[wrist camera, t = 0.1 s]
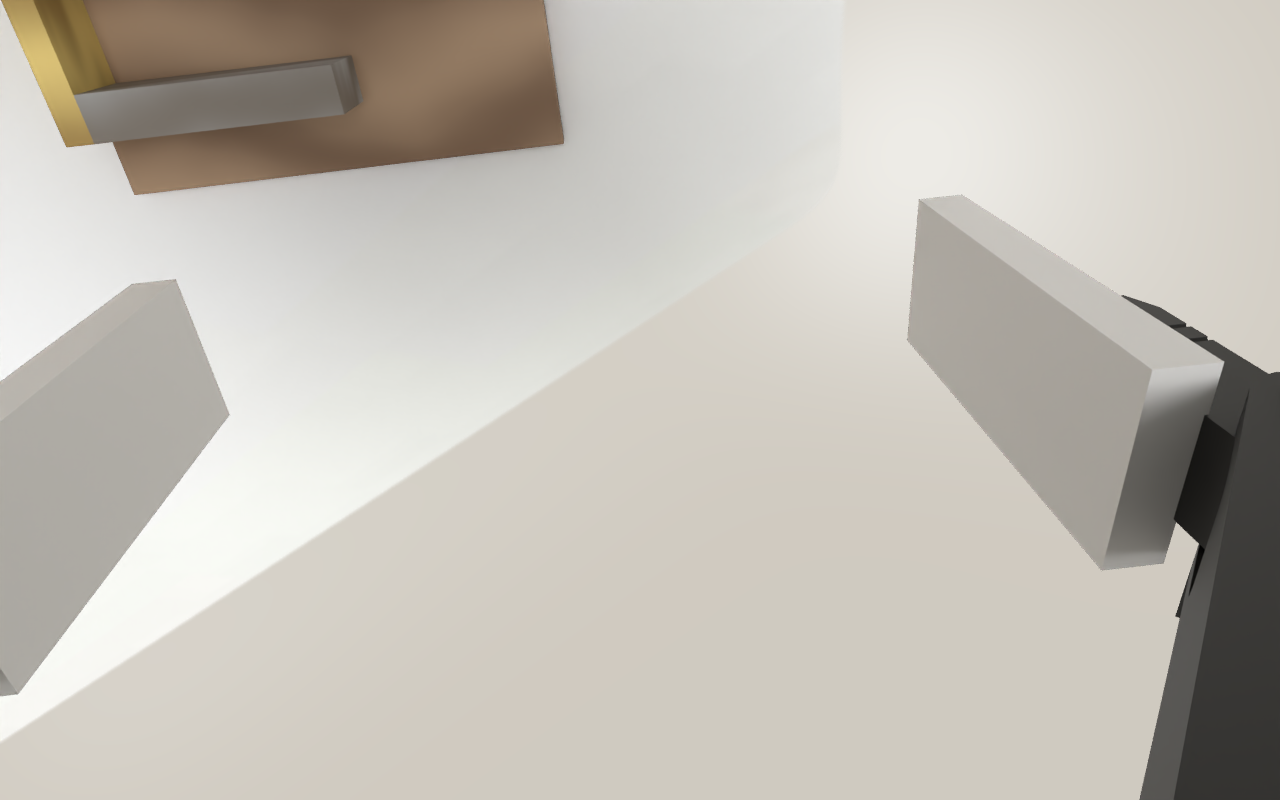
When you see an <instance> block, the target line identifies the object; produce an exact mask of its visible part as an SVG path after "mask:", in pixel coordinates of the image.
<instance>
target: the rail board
mask: <svg viewBox="0 0 1280 800" xmlns="http://www.w3.org/2000/svg"><path fill="white" fill-rule="evenodd" d="M1 1H2V3H3V6H4V8H5V10H6V12H7V15H8V17H9V19H10V21H11V24H12V26H13V28H14V30H15V33H16V35H17V37H18V39H19V42H20V44H21V46H22V48H23V51H24V53H25V55H26V57H27V60H28V62H29V64H30V66H31V69H32V71H33V73H34V75H35V78H36V80H37V82H38V84H39V87H40V89H41V91H42V93H43V96H44V98H45V100H46V102H47V105H48V107H49V109H50V111H51V114H52V116H53V118H54V120H55V123H56V125H57V127H58V129H59V132H60V134H61V136H62V138H63V141H64V143H65V145H66V147H74V146H83V145H91V144H100V143H108V142H113V144H114V147H115V149H116V151H117V154H118V156H119V159H120V161H121V163H122V166H123V168H124V171H125V173H126V175H127V178H128V180H129V183H130V185H131V187H132V190H133V192H134V195H139V194H148V193H156V192H164V191H173V190H181V189H190V188H198V187H206V186H215V185H223V184H231V183H240V182H248V181H256V180H265V179H273V178H282V177H290V176H298V175H307V174H315V173H323V172H332V171H340V170H348V169H357V168H365V167H374V166H382V165H390V164H399V163H407V162H415V161H424V160H432V159H440V158H449V157H457V156H466V155H474V154H482V153H491V152H499V151H507V150H516V149H524V148H532V147H541V146H549V145H558V144H564V137H563V130H562V123H561V116H560V109H559V102H558V95H557V88H556V82H555V75H554V68H553V61H552V54H551V47H550V40H549V33H548V26H547V19H546V13H545V6H544V0H1Z"/></svg>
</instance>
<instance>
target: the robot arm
mask: <svg viewBox="0 0 1280 800" xmlns="http://www.w3.org/2000/svg"><path fill="white" fill-rule="evenodd" d="M907 340H908V342H909V343H910V344H911V345H912V346H913V347H914V349H915V350H916V351H917V352H918V353H919V355H920V356H921V357H922V358H923V359H924V360H925V362H926V363H927V364H928V365H929V366H930V368H931V369H932V370H933V371H934V372H935V374H936V375H937V376H938V377H939V378H940V380H941V381H942V382H943V383H944V384H945V385H946V386H947V388H948V389H949V390H950V391H951V393H952V394H953V395H954V396H955V397H956V398H957V400H958V401H959V402H960V403H961V404H962V406H963V407H964V408H965V409H966V410H967V412H968V413H969V414H970V415H971V416H972V417H973V419H974V420H975V421H976V422H977V423H978V425H979V426H980V427H981V428H982V429H983V431H984V432H985V433H986V434H987V435H988V436H989V438H990V439H991V440H992V441H993V442H994V443H995V445H996V446H997V447H998V448H999V449H1000V451H1001V452H1002V453H1003V454H1004V455H1005V457H1006V458H1007V459H1008V460H1009V461H1010V463H1011V464H1012V465H1013V466H1014V467H1015V468H1016V470H1017V471H1018V472H1019V473H1020V474H1021V476H1022V477H1023V478H1024V479H1025V480H1026V481H1027V483H1028V484H1029V485H1030V486H1031V487H1032V489H1033V490H1034V491H1035V492H1036V493H1037V495H1038V496H1039V497H1040V498H1041V499H1042V500H1043V502H1044V503H1045V504H1046V505H1047V506H1048V508H1049V509H1050V510H1051V511H1052V512H1053V514H1054V515H1055V516H1056V517H1057V518H1058V519H1059V521H1060V522H1061V523H1062V524H1063V525H1064V527H1065V528H1066V529H1067V530H1068V531H1069V532H1070V534H1071V535H1072V536H1073V537H1074V538H1075V540H1076V541H1077V542H1078V543H1079V544H1080V546H1081V547H1082V548H1083V549H1084V550H1085V551H1086V553H1087V554H1088V555H1089V556H1090V557H1091V559H1092V560H1093V561H1094V562H1095V563H1096V564H1097V566H1098V567H1099V568H1100V569H1101V570H1110V569H1119V568H1127V567H1136V566H1145V565H1154V564H1162V563H1164V560H1165V557H1166V553H1167V550H1168V547H1169V544H1170V540H1171V537H1172V534H1173V530H1174V527H1175V524H1176V522H1177V523H1178V524H1179V525H1180V526H1181V527H1182V528H1183V529H1184V530H1185V531H1186V532H1187V533H1188V534H1189V535H1190V536H1192V537H1193V538H1194V539H1195V540H1196V541H1197V542H1198V543H1199V545H1198V548H1197V552H1196V555H1195V558H1194V561H1193V564H1192V567H1191V570H1190V573H1189V576H1188V579H1187V582H1186V585H1185V588H1184V592H1183V594H1182V597H1181V601H1180V604H1179V607H1178V610H1177V613H1176V617H1179V618H1180V621H1179V625H1178V629H1177V633H1176V638H1175V643H1174V647H1173V651H1172V656H1171V660H1170V665H1169V669H1168V674H1167V679H1166V683H1165V687H1164V692H1163V697H1162V701H1161V706H1160V710H1159V715H1158V719H1157V723H1156V728H1155V732H1154V737H1153V742H1152V746H1151V751H1150V755H1149V759H1148V764H1147V769H1146V773H1145V777H1144V782H1143V786H1142V791H1141V795H1140V800H1280V372H1274V373H1271V374H1268V373H1266V372H1264V371H1263V370H1261V369H1260V368H1258V367H1256V366H1255V365H1253V364H1251V363H1250V362H1248V361H1247V360H1245V359H1243V358H1242V357H1240V356H1238V355H1237V354H1235V353H1233V352H1232V351H1230V350H1228V349H1227V348H1225V347H1223V346H1222V345H1220V344H1219V343H1217V342H1215V341H1214V340H1208V339H1207V336H1206V335H1204V334H1203V333H1201V332H1199V331H1198V330H1196V329H1194V328H1193V327H1186V323H1185V322H1183V321H1181V320H1180V319H1178V318H1176V317H1175V316H1173V315H1171V314H1170V313H1168V312H1167V311H1165V310H1163V309H1162V308H1160V307H1157V306H1154V305H1151V304H1148V303H1145V302H1142V301H1139V300H1136V299H1133V298H1130V297H1127V296H1124V295H1122V296H1120V295H1118V294H1117V293H1115V292H1114V291H1112V290H1111V289H1109V288H1107V287H1106V286H1104V285H1103V284H1101V283H1100V282H1098V281H1096V280H1095V279H1093V278H1092V277H1090V276H1089V275H1087V274H1085V273H1084V272H1082V271H1080V270H1079V269H1078V268H1076V267H1074V266H1073V265H1071V264H1070V263H1068V262H1067V261H1065V260H1063V259H1062V258H1060V257H1059V256H1057V255H1056V254H1054V253H1052V252H1051V251H1049V250H1048V249H1046V248H1045V247H1043V246H1041V245H1040V244H1038V243H1037V242H1035V241H1034V240H1032V239H1030V238H1029V237H1027V236H1026V235H1024V234H1023V233H1021V232H1019V231H1018V230H1016V229H1015V228H1013V227H1012V226H1010V225H1008V224H1007V223H1005V222H1004V221H1002V220H1000V219H999V218H997V217H996V216H994V215H993V214H991V213H990V212H988V211H986V210H985V209H983V208H981V207H980V206H978V205H977V204H975V203H974V202H972V201H971V200H969V199H968V198H966V197H964V196H963V195H955V196H946V197H937V198H927V199H919V206H918V217H917V229H916V242H915V254H914V265H913V278H912V290H911V302H910V314H909V327H908V338H907ZM228 416H229V412H228V410H227V407H226V405H225V402H224V400H223V397H222V394H221V392H220V389H219V387H218V384H217V382H216V379H215V377H214V374H213V372H212V369H211V367H210V364H209V362H208V359H207V357H206V354H205V352H204V349H203V347H202V344H201V342H200V339H199V337H198V334H197V332H196V329H195V327H194V324H193V322H192V319H191V316H190V314H189V311H188V309H187V306H186V304H185V301H184V299H183V296H182V294H181V291H180V289H179V286H178V284H177V281H176V279H175V280H166V281H156V282H147V283H138V284H131V285H130V286H129V287H127V288H126V289H125V290H123V291H122V292H121V293H119V294H118V295H117V296H115V297H114V298H112V299H111V300H110V301H108V302H107V303H106V304H104V305H103V306H102V307H100V308H99V309H98V310H96V311H95V312H94V313H92V314H91V315H90V316H88V317H87V318H86V319H84V320H83V321H81V322H80V323H79V324H77V325H76V326H75V327H73V328H72V329H71V330H69V331H68V332H67V333H65V334H64V335H63V336H61V337H60V338H59V339H57V340H56V341H55V342H53V343H52V344H50V345H49V346H48V347H46V348H45V349H44V350H42V351H41V352H40V353H38V354H37V355H36V356H34V357H33V358H32V359H30V360H29V361H28V362H26V363H25V364H24V365H22V366H21V367H19V368H18V369H17V370H15V371H14V372H13V373H11V374H10V375H9V376H7V377H6V378H5V379H3V380H2V381H1V382H0V696H7V695H15V694H19V692H20V691H21V690H22V688H23V687H24V686H25V684H26V683H27V682H28V680H29V679H30V678H31V676H32V675H33V674H34V672H35V671H36V670H37V669H38V667H39V666H40V665H41V663H42V662H43V661H44V659H45V658H46V657H47V655H48V654H49V653H50V651H51V650H52V649H53V647H54V646H55V645H56V643H57V642H58V641H59V639H60V638H61V637H62V635H63V634H64V633H65V632H66V630H67V629H68V628H69V626H70V625H71V624H72V622H73V621H74V620H75V618H76V617H77V616H78V614H79V613H80V612H81V610H82V609H83V608H84V606H85V605H86V604H87V602H88V601H89V600H90V598H91V597H92V596H93V595H94V593H95V592H96V591H97V589H98V588H99V587H100V585H101V584H102V583H103V581H104V580H105V579H106V577H107V576H108V575H109V573H110V572H111V571H112V569H113V568H114V567H115V565H116V564H117V563H118V561H119V560H120V559H121V558H122V556H123V555H124V554H125V552H126V551H127V550H128V548H129V547H130V546H131V544H132V543H133V542H134V540H135V539H136V538H137V536H138V535H139V534H140V532H141V531H142V530H143V528H144V527H145V526H146V524H147V523H148V522H149V521H150V519H151V518H152V517H153V515H154V514H155V513H156V511H157V510H158V509H159V507H160V506H161V505H162V503H163V502H164V501H165V499H166V498H167V497H168V495H169V494H170V493H171V491H172V490H173V489H174V487H175V486H176V485H177V484H178V482H179V481H180V480H181V478H182V477H183V476H184V474H185V473H186V472H187V470H188V469H189V468H190V466H191V465H192V464H193V462H194V461H195V460H196V458H197V457H198V456H199V454H200V453H201V452H202V450H203V449H204V448H205V447H206V445H207V444H208V443H209V441H210V440H211V439H212V437H213V436H214V435H215V433H216V432H217V431H218V429H219V428H220V427H221V425H222V424H223V423H224V421H225V420H226V419H227V417H228Z"/></svg>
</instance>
